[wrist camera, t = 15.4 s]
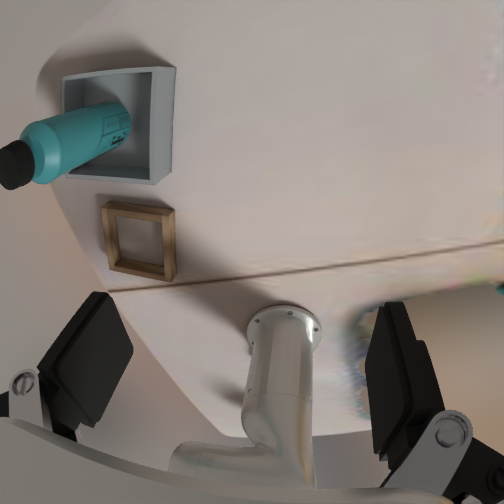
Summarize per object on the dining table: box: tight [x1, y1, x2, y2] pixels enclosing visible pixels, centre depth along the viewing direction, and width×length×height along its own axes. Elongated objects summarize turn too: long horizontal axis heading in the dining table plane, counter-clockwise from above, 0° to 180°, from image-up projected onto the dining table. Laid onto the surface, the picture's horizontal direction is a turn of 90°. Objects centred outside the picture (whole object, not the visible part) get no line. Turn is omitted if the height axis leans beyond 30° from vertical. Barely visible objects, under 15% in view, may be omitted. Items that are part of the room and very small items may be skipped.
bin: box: [61, 66, 176, 185], centre depth 34 cm, size 14×14×6 cm
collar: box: [101, 201, 176, 282], centre depth 44 cm, size 11×11×2 cm
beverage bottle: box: [0, 101, 131, 190], centre depth 27 cm, size 6×7×20 cm
